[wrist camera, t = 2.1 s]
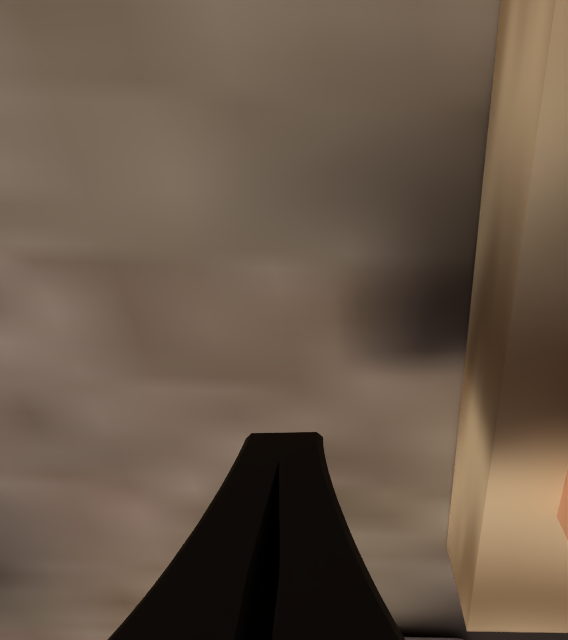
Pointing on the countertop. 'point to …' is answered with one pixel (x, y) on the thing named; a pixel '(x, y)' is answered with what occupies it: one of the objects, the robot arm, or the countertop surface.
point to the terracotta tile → (564, 508)
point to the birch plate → (518, 343)
